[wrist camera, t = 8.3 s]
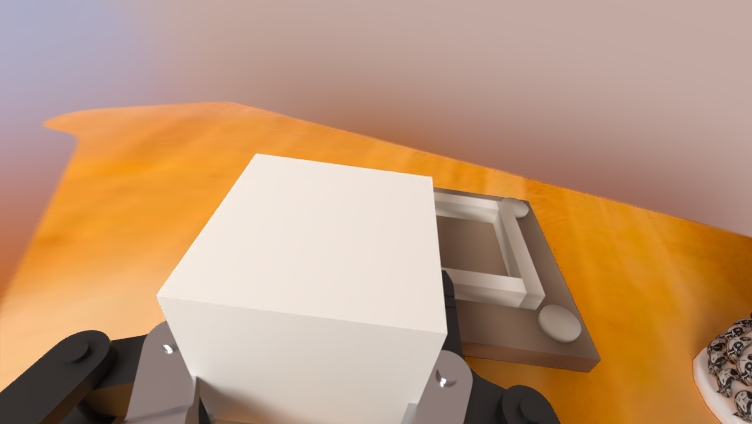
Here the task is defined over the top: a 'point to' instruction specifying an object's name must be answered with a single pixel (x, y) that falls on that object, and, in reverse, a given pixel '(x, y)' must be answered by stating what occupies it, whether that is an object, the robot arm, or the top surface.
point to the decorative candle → (727, 374)
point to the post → (312, 296)
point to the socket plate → (508, 284)
